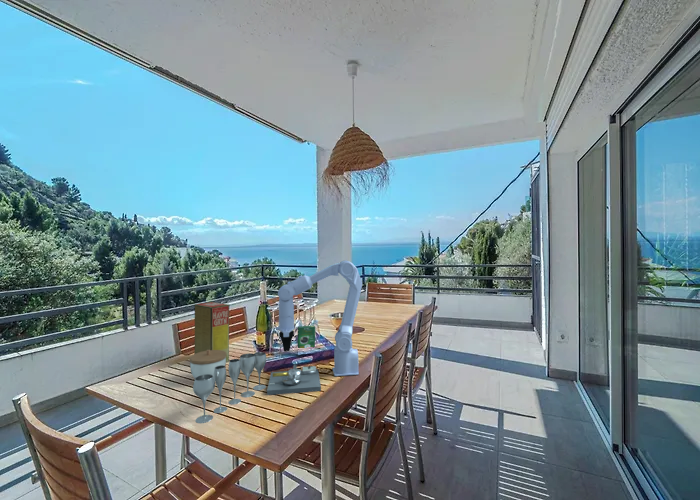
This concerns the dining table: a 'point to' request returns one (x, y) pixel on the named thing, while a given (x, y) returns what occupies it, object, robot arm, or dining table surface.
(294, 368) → the capstan
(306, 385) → the levelling stand
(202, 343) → the food packaging
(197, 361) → the lidded bowl
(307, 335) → the coffee box
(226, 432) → the dining table surface
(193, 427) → the dining table surface
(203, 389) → the goblet set
